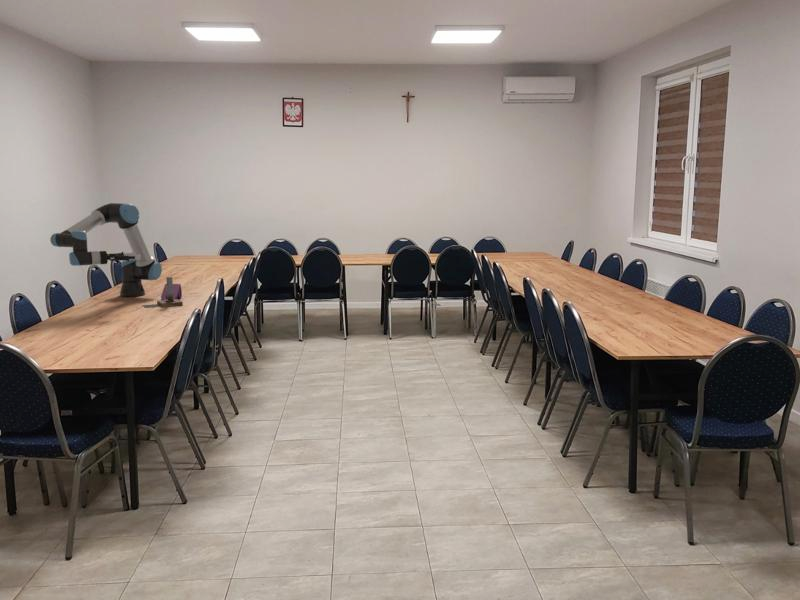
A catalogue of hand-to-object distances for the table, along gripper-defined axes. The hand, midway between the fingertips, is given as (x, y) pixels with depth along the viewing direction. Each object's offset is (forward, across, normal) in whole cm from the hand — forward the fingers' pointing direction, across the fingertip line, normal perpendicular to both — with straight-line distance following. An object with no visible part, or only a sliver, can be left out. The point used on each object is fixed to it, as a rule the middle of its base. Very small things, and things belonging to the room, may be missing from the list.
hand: (138, 255), depth 424 cm
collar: (+16, +5, -30) cm, 34 cm away
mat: (+5, +4, -30) cm, 31 cm away
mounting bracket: (+21, -12, -30) cm, 39 cm away
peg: (+16, +5, -30) cm, 34 cm away
